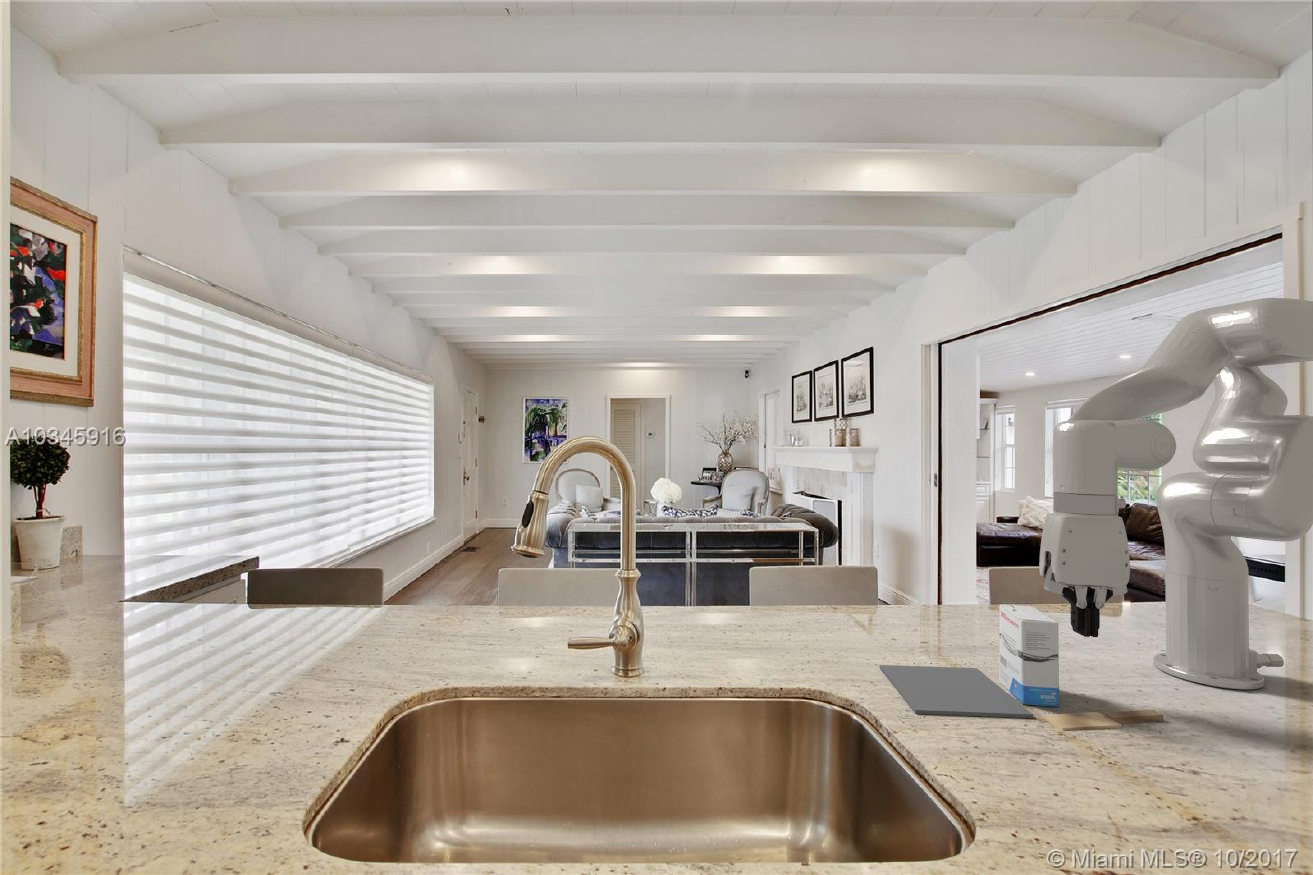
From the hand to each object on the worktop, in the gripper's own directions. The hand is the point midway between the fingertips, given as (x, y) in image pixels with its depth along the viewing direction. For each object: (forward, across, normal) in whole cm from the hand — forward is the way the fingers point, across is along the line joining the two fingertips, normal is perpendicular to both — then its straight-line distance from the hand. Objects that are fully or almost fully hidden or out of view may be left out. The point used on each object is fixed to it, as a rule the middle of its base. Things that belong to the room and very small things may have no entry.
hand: (1085, 633), depth 84 cm
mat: (+9, +19, 0) cm, 21 cm away
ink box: (+9, +8, 0) cm, 12 cm away
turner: (+9, +3, +8) cm, 12 cm away
